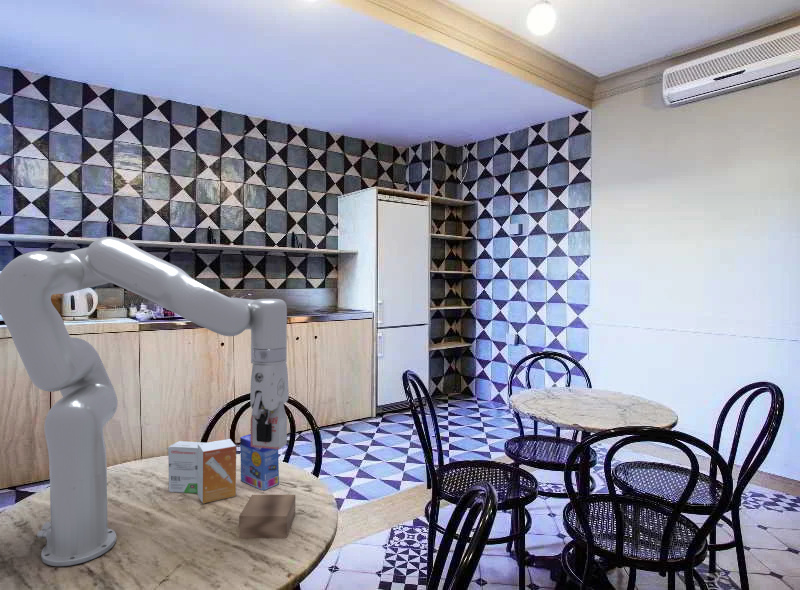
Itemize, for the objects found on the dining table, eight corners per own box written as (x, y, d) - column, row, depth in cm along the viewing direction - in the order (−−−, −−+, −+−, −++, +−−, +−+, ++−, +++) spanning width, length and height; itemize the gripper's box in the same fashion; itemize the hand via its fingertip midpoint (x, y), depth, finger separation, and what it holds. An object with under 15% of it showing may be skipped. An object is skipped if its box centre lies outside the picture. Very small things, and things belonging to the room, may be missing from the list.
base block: (239, 539, 103) (239, 516, 103) (252, 515, 113) (252, 494, 113) (286, 539, 103) (286, 516, 103) (295, 515, 113) (295, 494, 113)
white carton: (259, 441, 110) (259, 397, 110) (286, 443, 108) (286, 399, 108) (250, 446, 106) (250, 401, 106) (278, 449, 105) (278, 403, 104)
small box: (202, 504, 118) (202, 451, 117) (197, 494, 123) (196, 443, 122) (236, 496, 122) (236, 445, 121) (230, 487, 127) (230, 438, 127)
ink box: (209, 485, 128) (209, 441, 127) (199, 494, 123) (199, 448, 122) (178, 483, 129) (178, 439, 128) (167, 492, 124) (167, 446, 123)
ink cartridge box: (238, 481, 131) (238, 428, 130) (255, 474, 135) (256, 423, 134) (262, 491, 125) (262, 436, 124) (279, 484, 129) (279, 430, 129)
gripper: (268, 362, 98) (268, 452, 99) (299, 350, 114) (299, 427, 115) (233, 361, 99) (233, 450, 100) (269, 348, 115) (269, 425, 116)
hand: (268, 437), depth 107 cm, fingers closed on white carton, 3 cm apart
